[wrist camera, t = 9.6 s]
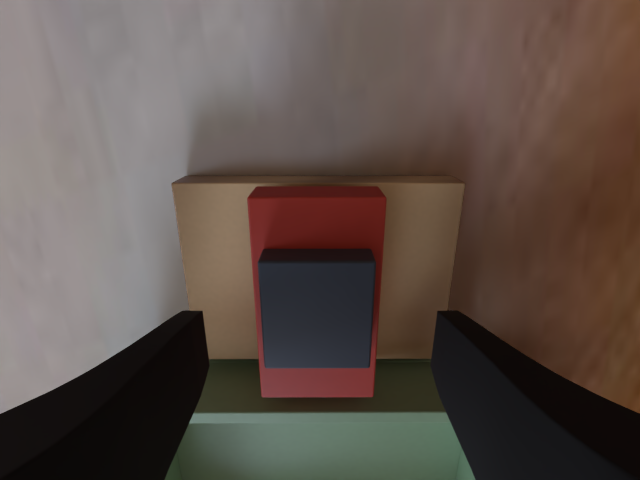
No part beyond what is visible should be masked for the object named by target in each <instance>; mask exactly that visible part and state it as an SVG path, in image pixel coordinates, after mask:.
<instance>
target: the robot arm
mask: <svg viewBox="0 0 640 480" xmlns="http://www.w3.org/2000/svg"><path fill="white" fill-rule="evenodd" d="M209 366H210V364H209V357H208V349H207V341H206V333H205V326H204V318H203V311H181V312H180V313H178V314H176V315H175V316H173V317H172V318H170V319H169V320H167V321H166V322H164V323H163V324H161V325H160V326H158V327H157V328H155V329H154V330H152V331H151V332H149V333H148V334H146V335H145V336H143V337H142V338H140V339H139V340H138V341H136V342H135V343H133V344H132V345H130V346H129V347H127V348H125V349H124V350H122V351H120V352H119V353H117V354H116V355H114V356H112V357H111V358H109V359H108V360H106V361H104V362H103V363H101V364H100V365H98V366H96V367H95V368H93V369H91V370H89V371H88V372H86V373H84V374H82V375H80V376H79V377H77V378H75V379H73V380H71V381H69V382H67V383H65V384H63V385H61V386H60V387H58V388H56V389H54V390H52V391H50V392H48V393H46V394H43V395H41V396H39V397H37V398H35V399H32V400H30V401H28V402H26V403H24V404H21V405H19V406H17V407H15V408H13V409H10V410H8V411H6V412H4V413H2V414H0V480H165V478H166V475H167V473H168V470H169V468H170V465H171V463H172V461H173V459H174V456H175V454H176V452H177V450H178V447H179V445H180V443H181V441H182V438H183V436H184V434H185V432H186V429H187V427H188V425H189V422H190V420H191V418H192V416H193V413H194V411H195V409H196V406H197V404H198V402H199V399H200V397H201V394H202V391H203V387H204V384H205V381H206V377H207V373H208V370H209ZM430 366H431V370H432V373H433V377H434V381H435V384H436V387H437V391H438V394H439V397H440V399H441V402H442V404H443V406H444V409H445V411H446V413H447V416H448V418H449V420H450V422H451V425H452V427H453V429H454V432H455V434H456V436H457V438H458V441H459V443H460V445H461V447H462V450H463V452H464V454H465V456H466V459H467V461H468V463H469V465H470V468H471V470H472V473H473V475H474V478H475V480H640V414H639V413H637V412H634V411H632V410H630V409H628V408H625V407H623V406H621V405H619V404H616V403H614V402H612V401H610V400H607V399H605V398H603V397H601V396H599V395H597V394H595V393H593V392H591V391H589V390H587V389H585V388H583V387H581V386H579V385H577V384H575V383H573V382H571V381H569V380H567V379H565V378H564V377H562V376H560V375H558V374H556V373H554V372H553V371H551V370H549V369H548V368H546V367H544V366H542V365H541V364H539V363H537V362H536V361H534V360H532V359H531V358H529V357H527V356H526V355H524V354H523V353H521V352H520V351H518V350H516V349H515V348H513V347H512V346H510V345H509V344H507V343H506V342H504V341H503V340H501V339H500V338H498V337H497V336H495V335H494V334H492V333H491V332H489V331H488V330H486V329H485V328H483V327H482V326H481V325H479V324H478V323H476V322H475V321H473V320H472V319H470V318H469V317H467V316H466V315H464V314H462V313H461V312H459V311H437V318H436V326H435V333H434V341H433V349H432V357H431V364H430Z"/></svg>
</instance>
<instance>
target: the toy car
mask: <svg viewBox="0 0 640 480" xmlns="http://www.w3.org/2000/svg"><path fill="white" fill-rule="evenodd" d="M386 202H387V198H386V196H385V195H384V194H383V192H382V191H381V190H380V188H379V187H378V186H257V187H255V189H254V190H253V191H252V192H251V194H250V195H249V196H248V198H247V204H248V218H249V232H250V246H251V260H252V274H253V288H254V302H255V315H256V329H257V343H258V357H259V371H260V385H261V396H262V397H373V396H374V385H375V370H376V355H377V339H378V324H379V309H380V294H381V278H382V263H383V248H384V233H385V218H386Z"/></svg>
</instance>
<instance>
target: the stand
mask: <svg viewBox="0 0 640 480" xmlns="http://www.w3.org/2000/svg"><path fill="white" fill-rule="evenodd" d="M257 186H378V187H379V188H380V190H381V191H382V192H383V194H384V195H385V196H386V198H387V202H386V218H385V233H384V248H383V263H382V278H381V294H380V309H379V324H378V339H377V355H376V359H431V357H432V349H433V341H434V333H435V326H436V318H437V311H447V310H448V303H449V296H450V289H451V282H452V275H453V267H454V260H455V253H456V246H457V239H458V232H459V225H460V218H461V211H462V204H463V197H464V190H465V183H464V182H462V181H460V180H458V179H456V178H455V177H453V176H185V177H183V178H181V179H179V180H177V181H175V182H173V183H172V191H173V198H174V205H175V212H176V218H177V225H178V232H179V239H180V246H181V253H182V260H183V267H184V274H185V281H186V288H187V295H188V302H189V309H190V311H203V318H204V326H205V333H206V341H207V349H208V357H209V359H259V357H258V343H257V329H256V315H255V302H254V288H253V274H252V260H251V246H250V232H249V218H248V204H247V198H248V196H249V195H250V194H251V192H252V191H253V190H254V189H255V187H257Z"/></svg>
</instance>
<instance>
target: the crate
mask: <svg viewBox="0 0 640 480" xmlns="http://www.w3.org/2000/svg"><path fill="white" fill-rule="evenodd" d="M209 364H210V366H209V370H208V373H207V377H206V381H205V384H204V387H203V391H202V394H201V397H200V399H199V402H198V404H197V406H196V409H195V411H194V413H193V416H192V418H191V420H190V422H189V425H188V427H187V429H186V432H185V434H184V436H183V438H182V441H181V443H180V445H179V447H178V450H177V452H176V454H175V456H174V459H173V461H172V463H171V465H170V468H169V470H168V473H167V475H166V478H165V480H475V478H474V475H473V473H472V470H471V468H470V465H469V463H468V461H467V459H466V456H465V454H464V452H463V450H462V447H461V445H460V443H459V441H458V438H457V436H456V434H455V432H454V429H453V427H452V425H451V422H450V420H449V418H448V416H447V413H446V411H445V409H444V406H443V404H442V402H441V399H440V397H439V394H438V391H437V387H436V384H435V381H434V377H433V373H432V370H431V366H430V364H431V359H376V370H375V385H374V396H373V397H262V396H261V385H260V371H259V359H209Z"/></svg>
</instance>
